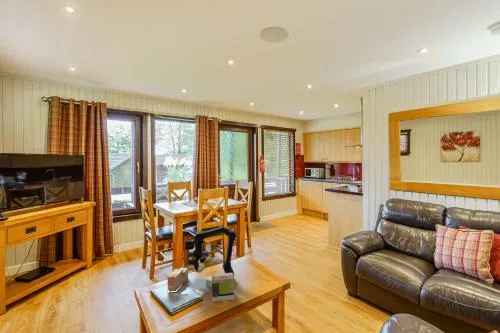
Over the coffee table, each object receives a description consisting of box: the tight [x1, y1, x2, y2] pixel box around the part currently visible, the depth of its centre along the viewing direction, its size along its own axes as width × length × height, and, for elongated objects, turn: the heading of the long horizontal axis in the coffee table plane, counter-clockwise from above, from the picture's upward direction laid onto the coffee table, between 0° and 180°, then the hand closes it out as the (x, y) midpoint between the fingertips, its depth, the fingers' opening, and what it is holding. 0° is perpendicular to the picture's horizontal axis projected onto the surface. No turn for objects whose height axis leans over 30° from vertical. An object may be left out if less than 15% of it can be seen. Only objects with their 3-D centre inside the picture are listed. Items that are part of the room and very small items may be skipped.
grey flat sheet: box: [188, 278, 212, 298], centre depth 181 cm, size 18×23×1 cm
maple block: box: [192, 261, 205, 274], centre depth 187 cm, size 6×6×5 cm
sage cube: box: [205, 276, 212, 287], centre depth 186 cm, size 5×5×5 cm
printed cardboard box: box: [167, 267, 189, 291], centre depth 185 cm, size 21×6×12 cm, turn 170°
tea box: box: [211, 272, 235, 302], centre depth 170 cm, size 15×10×15 cm, turn 100°
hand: (198, 269), depth 187 cm, fingers closed on maple block, 6 cm apart
